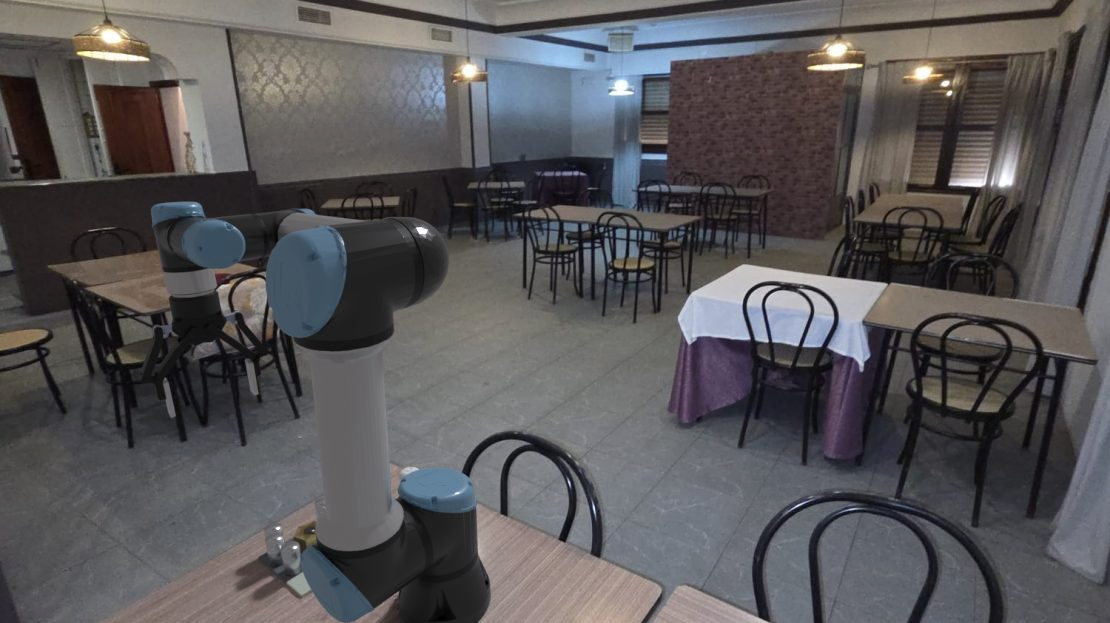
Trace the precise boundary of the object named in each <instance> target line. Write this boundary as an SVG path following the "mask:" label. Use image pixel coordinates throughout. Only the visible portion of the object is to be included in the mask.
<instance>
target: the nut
mask: <svg viewBox="0 0 1110 623" xmlns="http://www.w3.org/2000/svg"><path fill="white" fill-rule="evenodd" d="M316 522H317V520H313V521H310V522H307V523H305V524H301V525H300V526H297V528H296V531H295V533H294V536H293V538H294V541H296V542H298V543H299V546H300V552H302V553H303V552H304V551H305V550H306V549H307V548H308V546H310V545H311V546H312V545H314V544H316V543H317V541H316V532H315V526H316Z"/></svg>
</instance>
